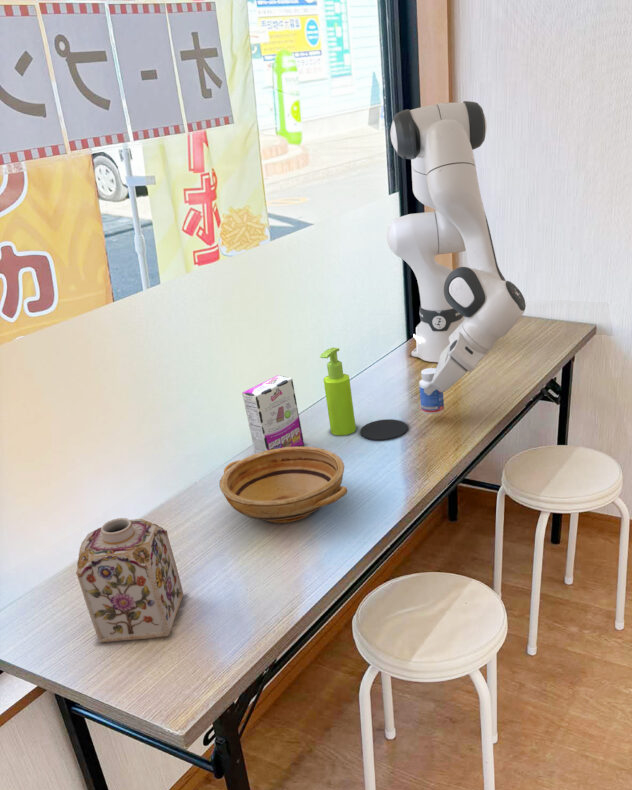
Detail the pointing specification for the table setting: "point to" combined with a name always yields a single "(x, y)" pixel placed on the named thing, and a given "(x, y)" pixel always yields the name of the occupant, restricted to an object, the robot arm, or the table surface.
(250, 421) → the candy bar box
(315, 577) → the table surface
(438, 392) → the pill bottle
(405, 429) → the coaster
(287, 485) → the ceramic bowl
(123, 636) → the decorative jar
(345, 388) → the lime green pump bottle
